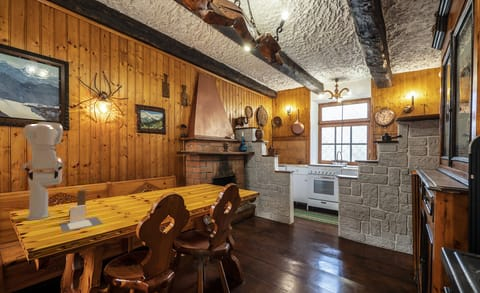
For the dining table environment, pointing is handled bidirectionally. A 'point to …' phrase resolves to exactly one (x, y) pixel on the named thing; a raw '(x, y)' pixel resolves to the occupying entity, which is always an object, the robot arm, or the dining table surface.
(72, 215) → the deck
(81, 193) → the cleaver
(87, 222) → the mat
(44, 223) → the dining table surface
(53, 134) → the robot arm
